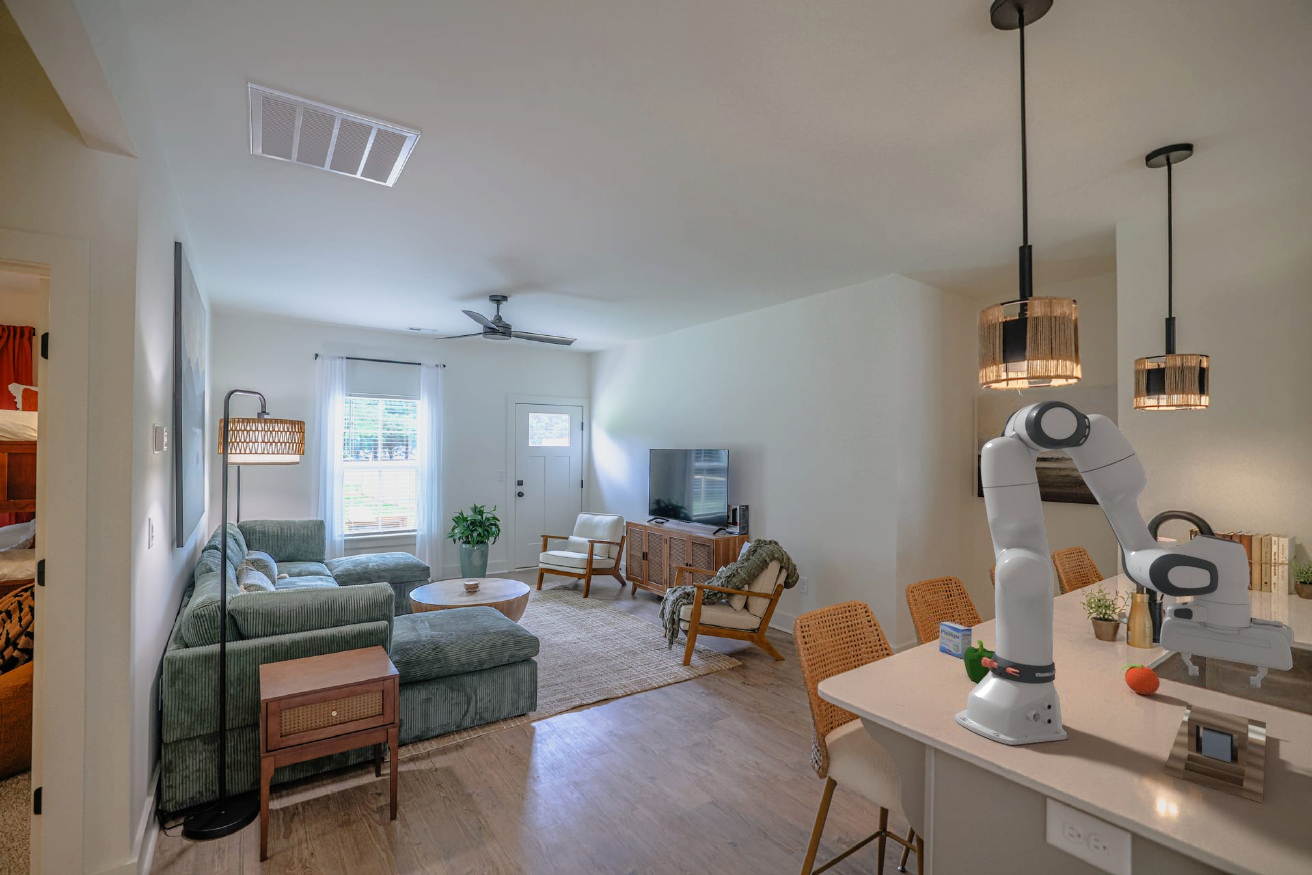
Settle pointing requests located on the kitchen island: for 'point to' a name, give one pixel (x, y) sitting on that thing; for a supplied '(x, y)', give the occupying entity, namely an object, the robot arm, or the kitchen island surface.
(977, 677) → the bell pepper
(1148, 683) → the tomato
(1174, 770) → the tunnel deck
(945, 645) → the medicine box
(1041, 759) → the kitchen island surface
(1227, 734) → the sled block
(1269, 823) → the kitchen island surface
